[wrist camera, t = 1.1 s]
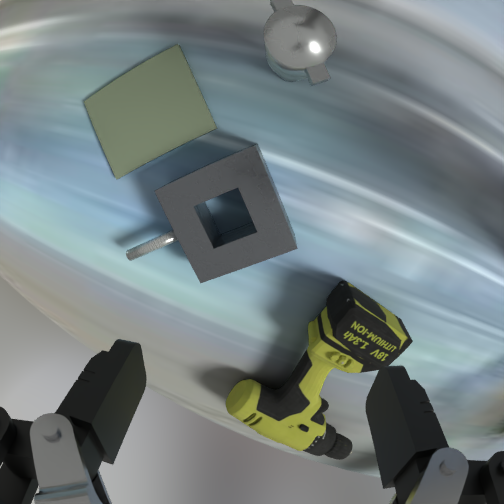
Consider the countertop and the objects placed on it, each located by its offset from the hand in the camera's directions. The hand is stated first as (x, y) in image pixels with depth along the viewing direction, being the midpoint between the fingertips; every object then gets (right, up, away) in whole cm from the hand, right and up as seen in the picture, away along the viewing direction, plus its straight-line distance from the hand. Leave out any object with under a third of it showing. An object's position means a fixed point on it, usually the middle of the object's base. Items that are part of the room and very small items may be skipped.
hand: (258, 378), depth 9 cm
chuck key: (+3, +22, +16) cm, 27 cm away
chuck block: (-6, +7, +23) cm, 24 cm away
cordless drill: (+12, -14, +31) cm, 36 cm away
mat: (-11, +18, +19) cm, 28 cm away
